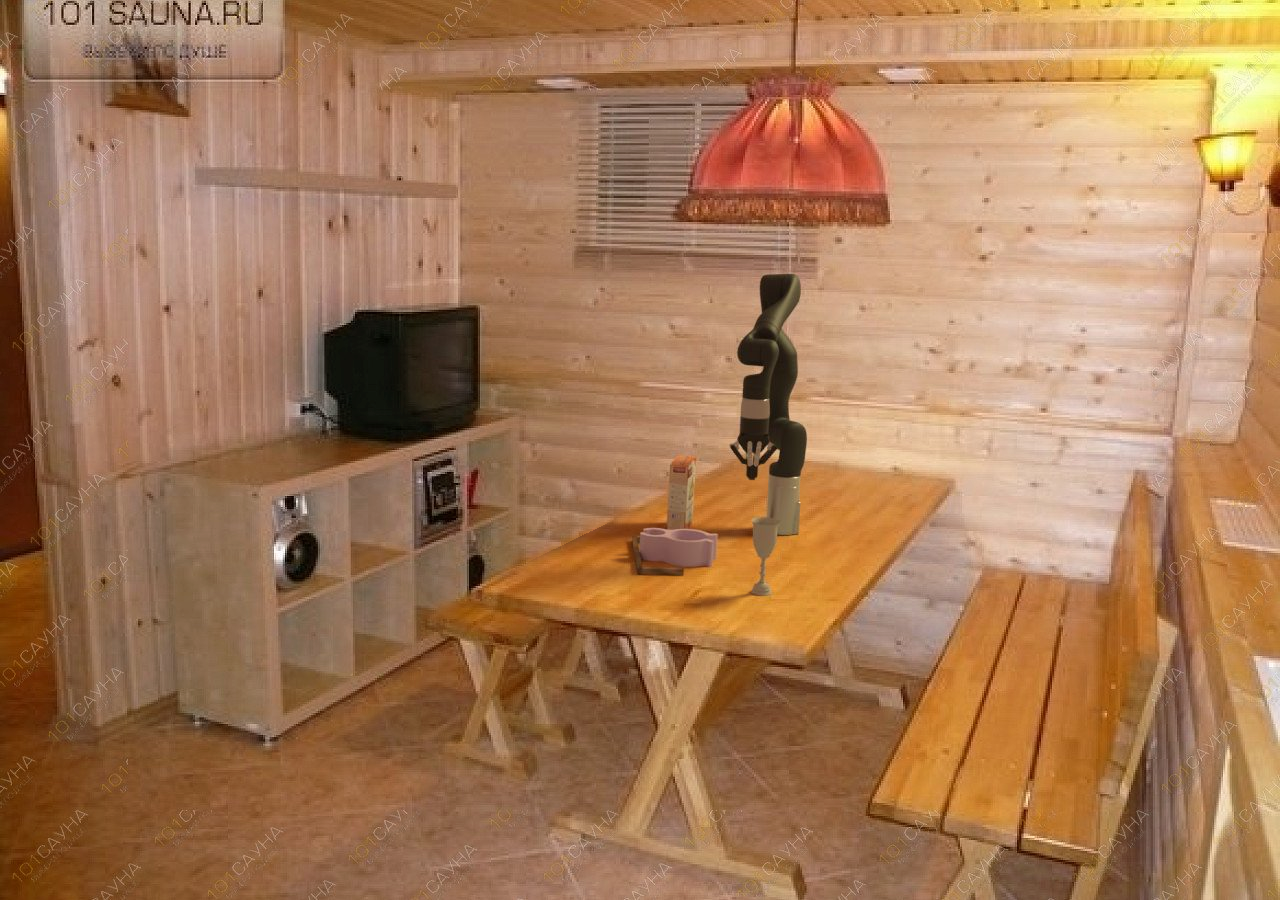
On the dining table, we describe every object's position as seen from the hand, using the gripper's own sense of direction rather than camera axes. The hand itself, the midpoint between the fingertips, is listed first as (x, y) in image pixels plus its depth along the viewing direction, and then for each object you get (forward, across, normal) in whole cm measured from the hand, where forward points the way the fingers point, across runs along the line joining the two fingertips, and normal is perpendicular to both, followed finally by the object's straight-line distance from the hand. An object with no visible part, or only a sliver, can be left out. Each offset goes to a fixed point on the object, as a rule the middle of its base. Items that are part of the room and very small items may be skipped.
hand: (751, 479), depth 287 cm
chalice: (+22, +1, +27) cm, 35 cm away
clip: (+22, +19, +1) cm, 29 cm away
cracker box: (+22, +16, -28) cm, 39 cm away
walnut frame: (+22, +24, 0) cm, 33 cm away
